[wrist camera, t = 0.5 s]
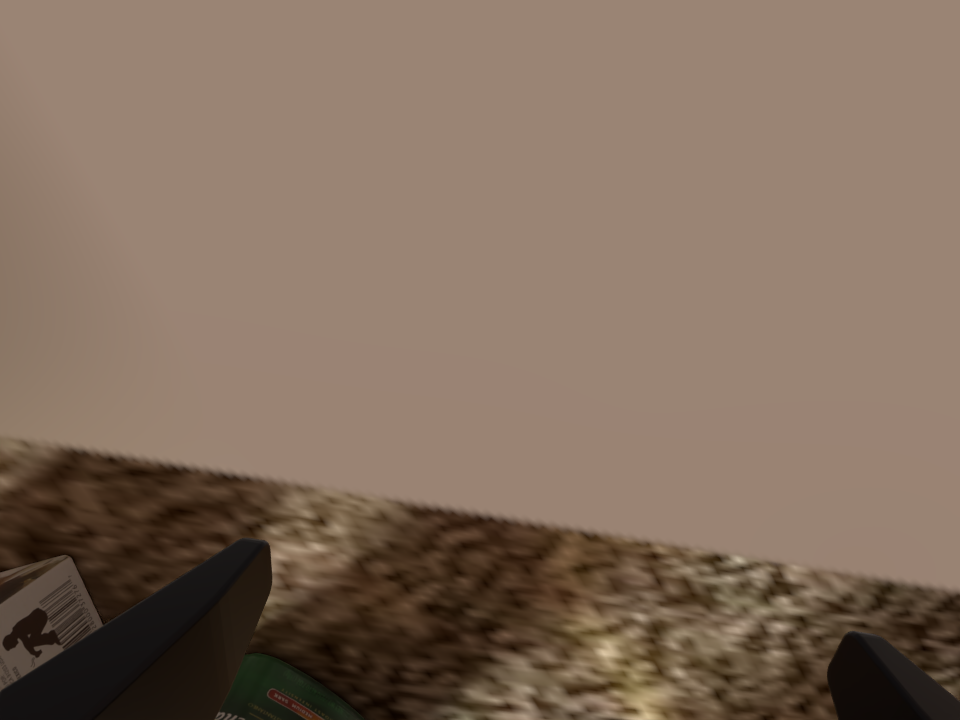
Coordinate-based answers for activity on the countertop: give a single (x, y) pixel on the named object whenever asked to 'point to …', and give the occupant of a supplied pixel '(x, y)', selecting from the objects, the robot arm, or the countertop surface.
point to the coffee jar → (280, 694)
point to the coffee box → (41, 615)
